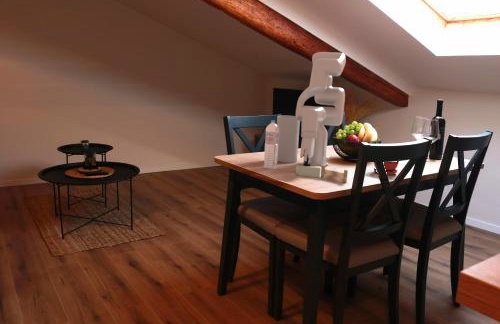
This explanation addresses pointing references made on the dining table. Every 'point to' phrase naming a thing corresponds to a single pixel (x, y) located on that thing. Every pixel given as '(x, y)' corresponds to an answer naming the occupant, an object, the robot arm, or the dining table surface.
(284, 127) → the cylinder vase
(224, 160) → the dining table surface
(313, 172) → the bar
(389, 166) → the plant pot
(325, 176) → the fence fixed
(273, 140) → the water bottle
